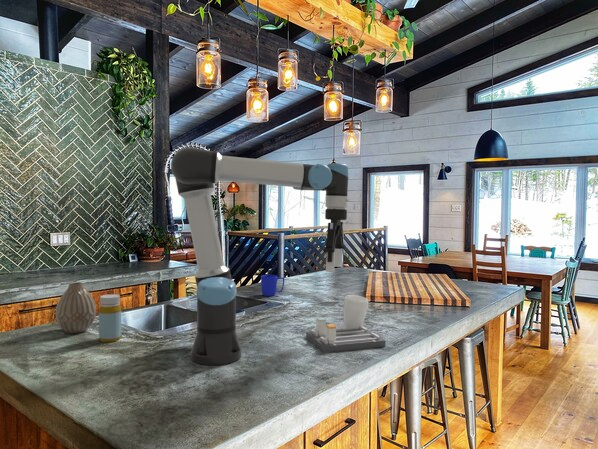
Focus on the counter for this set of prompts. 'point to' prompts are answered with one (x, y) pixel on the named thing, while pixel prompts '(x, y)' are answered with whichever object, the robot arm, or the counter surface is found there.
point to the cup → (354, 311)
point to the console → (346, 339)
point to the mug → (270, 284)
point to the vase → (75, 309)
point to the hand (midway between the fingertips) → (334, 269)
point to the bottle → (110, 318)
